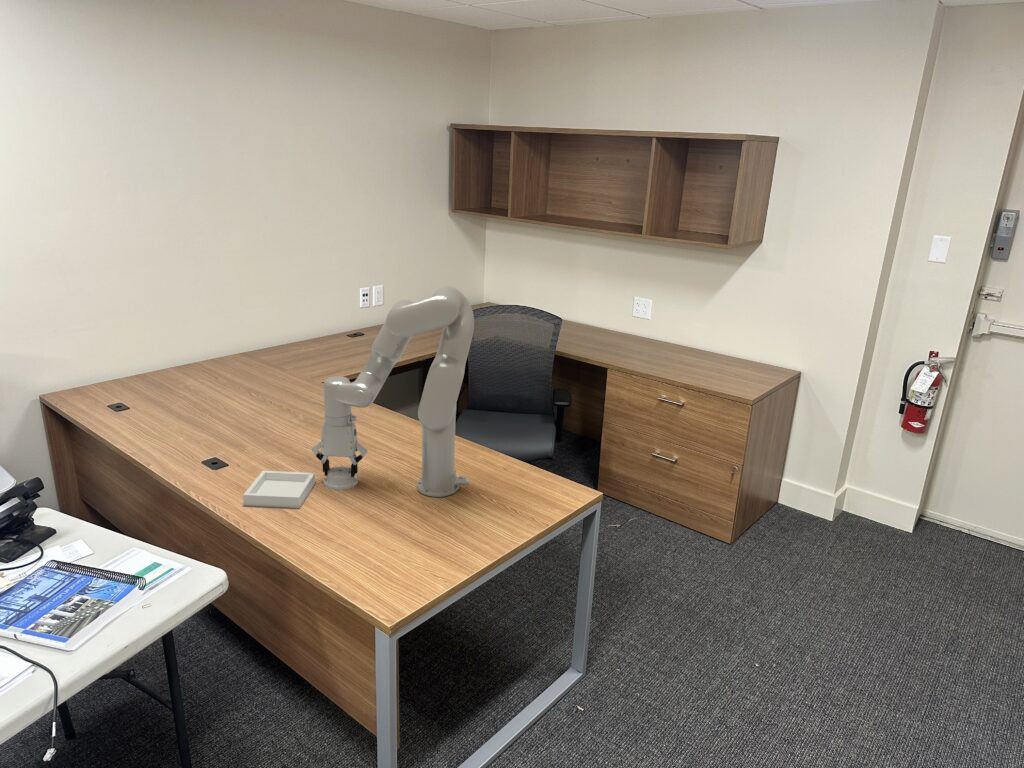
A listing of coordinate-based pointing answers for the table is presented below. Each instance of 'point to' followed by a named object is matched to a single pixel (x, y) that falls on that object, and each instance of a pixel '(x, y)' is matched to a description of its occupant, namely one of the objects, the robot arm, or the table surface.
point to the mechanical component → (340, 478)
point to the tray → (279, 489)
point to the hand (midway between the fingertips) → (340, 474)
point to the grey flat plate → (274, 507)
